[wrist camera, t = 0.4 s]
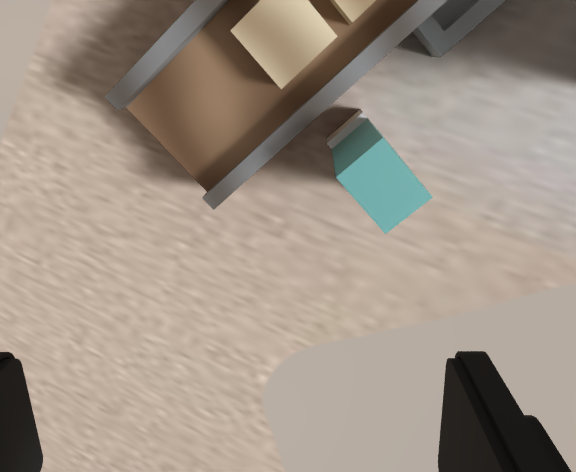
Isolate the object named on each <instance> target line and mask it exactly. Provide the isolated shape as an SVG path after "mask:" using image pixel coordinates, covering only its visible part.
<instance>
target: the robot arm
mask: <svg viewBox="0 0 576 472" xmlns="http://www.w3.org/2000/svg"><path fill="white" fill-rule="evenodd" d="M444 384H445V385H444V395H443V407H442V419H441V431H440V442H439V443H440V444H439V454H438V468H439V472H571V470H570V469H569V467H568V466H567V464H566V462H565V461H564V459H563V458H562V456H561V455H560V453H559V451H558V450H557V448H556V447H555V445H554V444H553V442H552V440H551V439H550V437H549V436H548V434H547V433H546V431H545V429H544V428H543V426H542V425H541V423H540V422H539V421H538V420H537V418H536V417H534V416H532V415H524V414H523V413H522V411H521V409H520V408H519V406H518V405H517V403H516V401H515V400H514V398H513V396H512V395H511V393H510V391H509V390H508V388H507V386H506V385H505V383H504V381H503V380H502V378H501V376H500V375H499V373H498V371H497V370H496V368H495V366H494V365H493V363H492V361H491V360H490V358H489V356H488V355H487V354H486V352H482V351H479V352H478V351H471V352H469V351H467V352H462V351H460V352H459V351H458V352H457V353H456V355H455V358H448V359H447V363H446V372H445V383H444ZM42 463H43V454H42V450H41V446H40V441H39V437H38V432H37V428H36V424H35V419H34V415H33V411H32V406H31V402H30V398H29V393H28V389H27V385H26V380H25V376H24V372H23V367H22V364H21V362H20V360H18V359H15V357H14V356H13V355H12V353H9V352H0V472H40V471H41V468H42Z"/></svg>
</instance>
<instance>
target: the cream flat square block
mask: <svg viewBox="0 0 576 472" xmlns="http://www.w3.org/2000/svg"><path fill="white" fill-rule="evenodd" d="M231 32H232V33H233V34H234V35H235V37H236V38H237V39H238V40H239V41H240V42H241V44H242V45H243V46H244V47H245V48H246V49H247V50H248V52H249V53H250V54H251V55H252V56H253V57H254V59H255V60H256V61H257V62H258V63H259V64H260V65H261V67H262V68H263V69H264V70H265V71H266V72H267V74H268V75H269V76H270V77H271V78H272V79H273V80H274V82H275V83H276V84H277V85H278V86H279V87H280V88H281V89H282V88H283V87H284V86H285V85H286V84H288V83H289V82H290V81H291V80H292V79H293V78H294V77H295V76H296V75H297V74H298V73H299V72H300V71H301V70H302V69H303V68H305V67H306V66H307V65H308V64H309V63H310V62H311V61H312V60H313V59H314V58H315V57H316V56H317V55H318V54H319V53H321V52H322V51H323V50H324V49H325V48H326V47H327V46H328V45H329V44H330V43H331V42H332V41H333V40H334V39H335V38H336V37H338V36H337V35H336V34H335V33H334V31H333V30H332V29H331V28H330V26H329V25H328V24H327V23H326V22H325V20H324V19H323V18H322V17H321V15H320V14H319V13H318V12H317V10H316V9H315V8H314V7H313V6H312V4H311V3H310V2H309V1H308V0H260V1H259V2H258V3H257V4H256V5H255V6H254V7H253V8H252V9H251V10H250V11H249V12H248V13H247V14H246V15H245V16H244V17H243V18H242V19H241V20H240V21H239V22H238V23H237V24H236V25H235V26H234V27H233V28H232V30H231Z"/></svg>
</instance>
